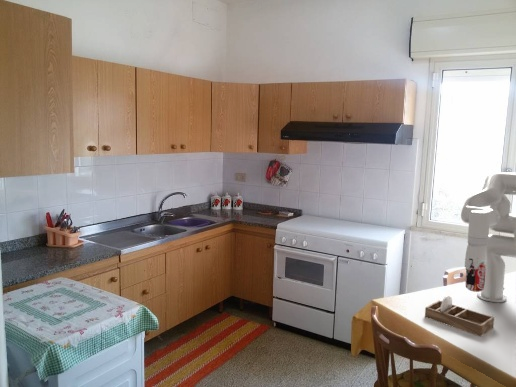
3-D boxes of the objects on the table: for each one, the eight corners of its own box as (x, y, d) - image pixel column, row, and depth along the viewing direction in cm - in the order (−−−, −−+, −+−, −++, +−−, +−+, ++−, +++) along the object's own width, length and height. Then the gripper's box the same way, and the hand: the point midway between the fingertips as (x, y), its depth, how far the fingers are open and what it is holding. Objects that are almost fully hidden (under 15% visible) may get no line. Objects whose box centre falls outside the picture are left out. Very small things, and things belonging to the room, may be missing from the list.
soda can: (473, 293, 176) (475, 265, 174) (461, 287, 183) (463, 260, 181) (488, 291, 178) (490, 263, 176) (475, 285, 185) (477, 258, 183)
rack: (438, 309, 200) (439, 300, 199) (493, 327, 182) (494, 317, 181) (424, 317, 192) (425, 307, 192) (480, 336, 174) (481, 325, 174)
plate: (449, 312, 194) (451, 293, 193) (451, 313, 194) (452, 294, 192) (439, 318, 189) (441, 298, 187) (441, 319, 188) (442, 299, 187)
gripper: (478, 235, 186) (475, 275, 188) (458, 242, 175) (455, 284, 177) (496, 238, 180) (493, 279, 183) (477, 246, 169) (474, 289, 172)
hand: (474, 281), depth 180 cm, fingers closed on soda can, 7 cm apart
